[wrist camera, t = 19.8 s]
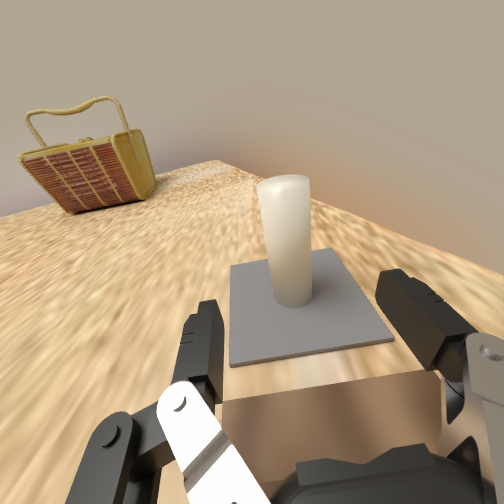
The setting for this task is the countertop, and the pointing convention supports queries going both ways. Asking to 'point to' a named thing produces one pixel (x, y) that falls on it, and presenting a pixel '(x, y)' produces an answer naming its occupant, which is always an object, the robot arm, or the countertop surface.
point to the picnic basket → (91, 166)
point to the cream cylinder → (287, 237)
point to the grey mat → (299, 314)
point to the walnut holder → (333, 423)
